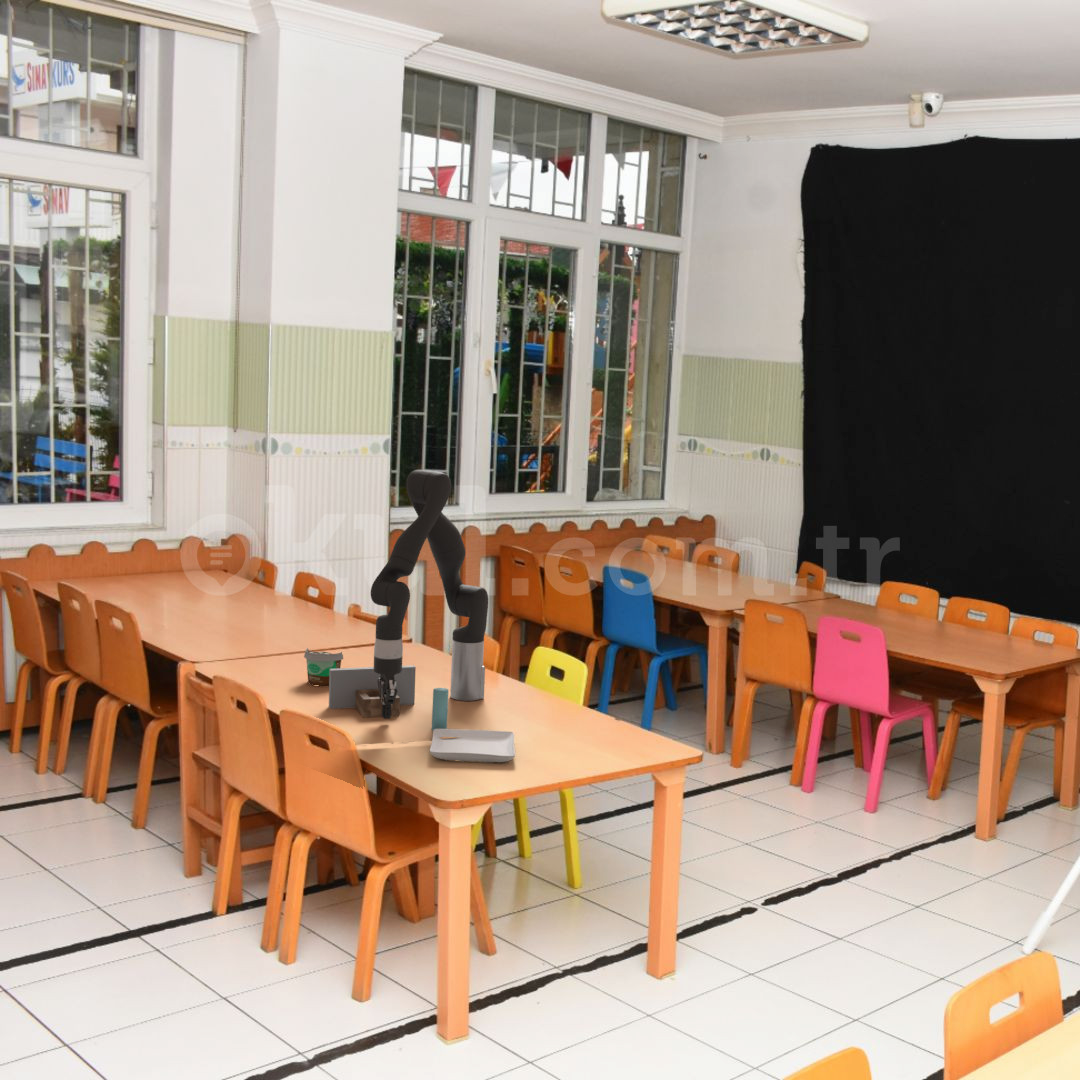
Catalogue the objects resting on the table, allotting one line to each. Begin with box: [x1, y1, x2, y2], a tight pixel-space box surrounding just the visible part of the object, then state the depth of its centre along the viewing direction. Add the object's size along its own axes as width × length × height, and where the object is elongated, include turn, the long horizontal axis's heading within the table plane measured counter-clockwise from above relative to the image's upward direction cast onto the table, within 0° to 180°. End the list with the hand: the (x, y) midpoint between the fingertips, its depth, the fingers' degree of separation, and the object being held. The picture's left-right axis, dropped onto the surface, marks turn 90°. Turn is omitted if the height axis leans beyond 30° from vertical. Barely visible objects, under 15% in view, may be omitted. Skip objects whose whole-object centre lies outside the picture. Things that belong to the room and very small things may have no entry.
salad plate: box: [429, 728, 516, 763], centre depth 331 cm, size 21×21×3 cm
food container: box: [303, 647, 344, 687], centre depth 389 cm, size 12×6×10 cm, turn 73°
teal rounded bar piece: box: [431, 687, 449, 732], centre depth 344 cm, size 4×4×12 cm
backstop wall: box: [328, 664, 417, 710], centre depth 364 cm, size 24×2×12 cm, turn 110°
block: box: [355, 689, 401, 718], centre depth 359 cm, size 10×10×5 cm
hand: (386, 717), depth 348 cm, fingers closed
